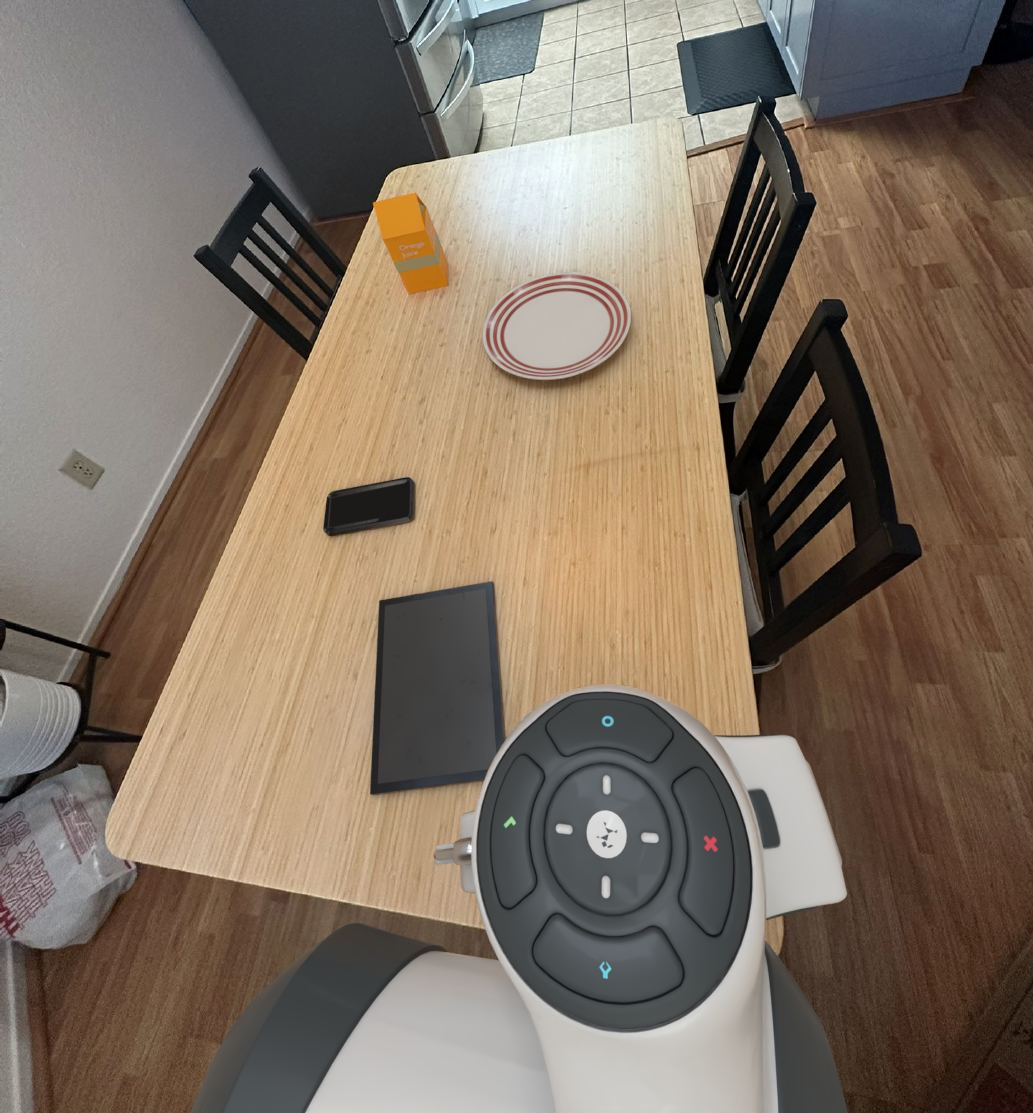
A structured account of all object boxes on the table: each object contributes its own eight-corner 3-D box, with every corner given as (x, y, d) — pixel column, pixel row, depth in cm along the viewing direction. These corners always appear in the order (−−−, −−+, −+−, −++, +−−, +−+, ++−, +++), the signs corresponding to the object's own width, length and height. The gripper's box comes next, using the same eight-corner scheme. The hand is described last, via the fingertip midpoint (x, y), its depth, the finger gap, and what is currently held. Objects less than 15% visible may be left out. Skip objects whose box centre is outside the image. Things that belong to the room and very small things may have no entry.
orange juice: (410, 271, 128) (373, 191, 112) (448, 262, 127) (417, 180, 111) (408, 295, 124) (370, 215, 108) (448, 286, 123) (415, 204, 107)
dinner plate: (472, 309, 117) (468, 297, 114) (601, 265, 117) (600, 252, 114) (505, 411, 101) (500, 399, 98) (655, 360, 100) (655, 347, 98)
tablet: (508, 777, 69) (506, 776, 68) (373, 795, 71) (369, 794, 70) (494, 583, 83) (492, 580, 82) (381, 602, 85) (378, 599, 84)
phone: (327, 492, 97) (412, 475, 95) (330, 495, 98) (415, 479, 96) (322, 535, 92) (412, 518, 91) (325, 538, 93) (414, 522, 92)
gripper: (421, 941, 27) (492, 909, 38) (888, 897, 24) (818, 876, 35) (422, 781, 30) (487, 794, 41) (827, 729, 28) (781, 758, 39)
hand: (642, 831), depth 38 cm, fingers closed
